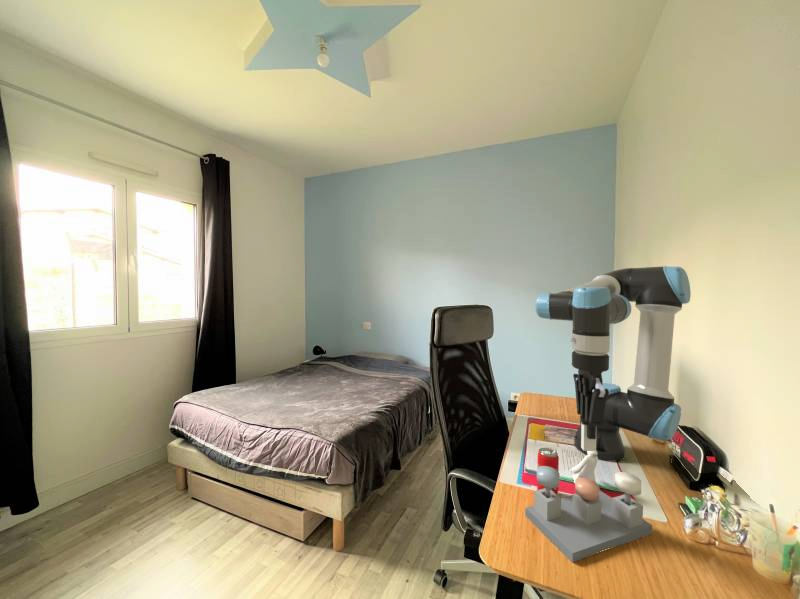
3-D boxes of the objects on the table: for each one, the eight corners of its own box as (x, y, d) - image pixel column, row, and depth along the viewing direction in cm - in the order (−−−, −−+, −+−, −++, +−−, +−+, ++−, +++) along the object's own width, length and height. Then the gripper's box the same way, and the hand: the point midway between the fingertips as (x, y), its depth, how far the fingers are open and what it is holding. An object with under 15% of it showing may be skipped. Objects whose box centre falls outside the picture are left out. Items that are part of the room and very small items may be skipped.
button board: (596, 495, 85) (597, 472, 85) (652, 533, 72) (652, 506, 72) (525, 515, 78) (525, 490, 77) (572, 562, 64) (573, 532, 64)
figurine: (585, 495, 85) (586, 452, 85) (562, 478, 93) (563, 439, 92) (606, 489, 88) (607, 448, 87) (581, 473, 95) (582, 435, 95)
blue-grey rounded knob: (547, 490, 79) (548, 464, 79) (563, 503, 74) (564, 475, 74) (531, 495, 77) (532, 468, 77) (547, 508, 73) (547, 479, 72)
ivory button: (624, 497, 76) (625, 470, 76) (645, 511, 72) (646, 482, 71) (609, 502, 75) (610, 474, 75) (630, 516, 70) (631, 486, 70)
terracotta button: (585, 502, 78) (585, 475, 78) (603, 516, 73) (604, 488, 73) (569, 507, 76) (570, 479, 76) (587, 521, 72) (588, 492, 71)
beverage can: (560, 502, 82) (561, 458, 82) (539, 499, 83) (540, 456, 83) (554, 489, 88) (555, 448, 87) (535, 487, 89) (535, 446, 88)
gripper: (562, 346, 80) (561, 435, 81) (585, 357, 67) (583, 463, 68) (594, 346, 79) (592, 437, 80) (622, 358, 66) (620, 466, 67)
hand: (588, 449), depth 74 cm, fingers closed
